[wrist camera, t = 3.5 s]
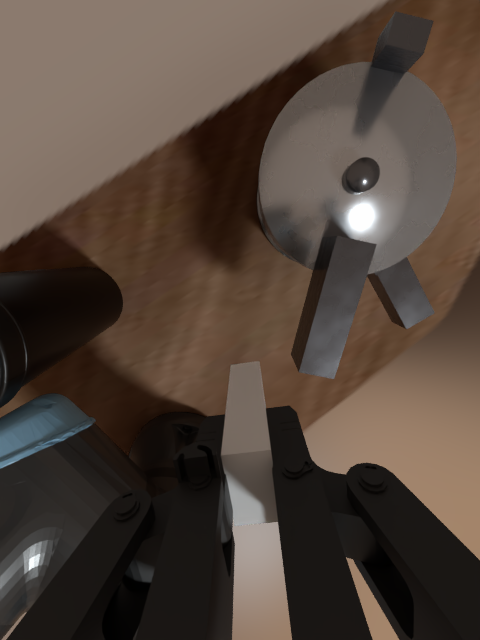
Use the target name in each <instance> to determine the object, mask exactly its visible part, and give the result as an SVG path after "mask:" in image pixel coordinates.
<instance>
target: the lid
mask: <svg viewBox="0 0 480 640" xmlns="http://www.w3.org/2000/svg"><path fill="white" fill-rule="evenodd" d="M432 24H433V21H431V20H427V19H423V18H419V17H415V16H411V15H407V14H403V13H399V12H395V13H394V15H393V16H392V18H391V19H390V21H389V22H388V24H387V25H386V27H385V28H384V30H383V32H382V33H381V35H380V36H379V38H378V41H377V45H376V49H375V52H374V56H373V60H372V62H359V63H353V64H347V65H344V66H341V67H337V68H334V69H332V70H330V71H328V72H325V73H323V74H321V75H319V76H318V77H316V78H315V79H313V80H312V81H310V82H309V83H307V84H306V85H305V86H304V87H303V88H302V89H300V90H299V91H298V92H297V93H296V94H295V95H294V96H293V97H292V98H291V99H290V101H289V102H288V103H287V104H286V105H285V107H284V108H283V109H282V111H281V112H280V114H279V115H278V117H277V118H276V120H275V122H274V124H273V126H272V128H271V130H270V132H269V135H268V137H267V140H266V142H265V146H264V149H263V153H262V157H261V162H260V169H259V180H258V190H259V200H260V205H261V209H262V214H263V216H264V219H265V222H266V225H267V227H268V229H269V231H270V232H271V234H272V236H273V238H274V239H275V240H276V242H277V243H278V245H279V246H280V247H281V248H282V249H283V250H284V251H285V252H286V253H287V254H288V255H289V256H290V257H291V258H293V259H294V260H295V261H297V262H298V263H300V264H302V265H303V266H305V267H307V268H309V269H312V270H313V273H312V277H311V281H310V285H309V288H308V292H307V296H306V300H305V303H304V307H303V311H302V315H301V318H300V322H299V326H298V329H297V333H296V337H295V341H294V344H293V348H292V352H291V355H292V358H293V360H294V362H295V364H296V367H297V369H298V371H299V372H301V373H306V374H311V375H316V376H321V377H326V378H332V379H334V378H335V374H336V371H337V368H338V365H339V362H340V359H341V356H342V352H343V349H344V346H345V343H346V340H347V337H348V333H349V330H350V327H351V324H352V321H353V318H354V315H355V311H356V308H357V305H358V302H359V299H360V296H361V293H362V289H363V286H364V283H365V280H366V277H367V275H368V274H372V273H376V272H378V271H381V270H384V269H386V268H388V267H390V266H392V265H394V264H396V263H398V262H399V261H401V260H402V259H404V258H405V257H407V256H408V255H410V254H411V253H412V252H413V251H414V250H415V249H416V248H418V247H419V246H420V245H421V244H422V242H423V241H424V240H425V239H426V238H427V237H428V236H429V235H430V233H431V232H432V230H433V229H434V228H435V226H436V225H437V223H438V221H439V220H440V218H441V216H442V214H443V213H444V210H445V208H446V206H447V203H448V201H449V198H450V195H451V192H452V188H453V184H454V179H455V173H456V160H457V156H456V143H455V137H454V132H453V128H452V125H451V122H450V119H449V116H448V115H447V113H446V111H445V109H444V107H443V105H442V103H441V102H440V100H439V99H438V97H437V96H436V95H435V93H434V92H433V91H432V90H431V89H430V88H429V87H428V86H427V85H426V84H425V83H424V82H423V81H421V80H420V79H419V78H417V77H416V76H415V75H413V74H411V73H409V72H407V71H408V70H409V68H410V67H411V66H412V65H413V64H414V63H415V62H416V61H417V60H418V59H419V58H420V57H421V56H422V55H423V53H424V50H425V47H426V44H427V40H428V37H429V34H430V31H431V27H432Z"/></svg>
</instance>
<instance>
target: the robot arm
mask: <svg viewBox="0 0 480 640" xmlns="http://www.w3.org/2000/svg"><path fill="white" fill-rule="evenodd" d="M95 421H96V420H95V419H94V418H93V417H88V416H87V415H86V414H85V413H84V412H83V411H82V410H81V409H80V408H78V407H77V406H76V405H75V404H74V403H73V402H72V401H71V400H69V399H68V398H67V397H65V396H63V395H61V394H54V393H52V394H45V395H41V396H39V397H37V398H35V399H33V400H31V401H29V402H27V403H26V404H24V405H22V406H20V407H18V408H17V409H15V410H13V411H11V412H10V413H8V414H6V415H4V416H3V417H1V418H0V640H1V639H2V638H3V636H5V635H6V633H7V632H8V631H9V630H10V628H11V627H12V626H13V625H14V624H15V622H16V621H17V620H18V619H19V618H20V617H21V616H22V615H23V614H24V613H25V612H27V613H26V615H25V616H24V617H23V619H22V620H21V621H20V622H19V624H18V625H17V626H16V628H15V629H14V630H13V632H12V633H11V634H10V636H9V637H8V638H7V639H6V640H232V619H233V585H234V550H235V543H234V537H233V532H232V523H233V519H234V525H235V526H240V525H250V524H261V523H270V522H278V525H279V533H280V541H281V550H282V558H283V567H284V574H285V583H286V591H287V600H288V608H289V617H290V625H291V633H292V640H372V637H371V634H370V631H369V627H368V624H367V621H366V618H365V615H364V612H363V609H362V606H361V603H360V600H359V597H358V593H357V590H356V587H355V584H354V581H353V578H352V575H351V572H350V569H349V566H348V562H347V560H346V557H347V558H351V559H353V560H354V562H355V564H356V566H357V568H358V569H359V571H360V573H361V574H362V576H363V578H364V580H365V581H366V583H367V584H368V586H369V588H370V590H371V592H372V593H373V595H374V597H375V598H376V600H377V602H378V604H379V605H380V607H381V609H382V610H383V612H384V614H385V615H386V617H387V619H388V621H389V622H390V624H391V626H392V628H393V629H394V631H395V633H396V634H397V636H398V638H399V640H480V560H479V559H478V558H477V557H476V556H475V555H474V554H473V553H472V552H471V551H470V550H469V549H468V548H467V547H466V546H465V545H464V544H463V543H462V542H461V541H460V540H459V539H458V538H457V537H456V536H455V535H454V534H453V533H452V532H451V531H450V530H449V529H448V528H447V527H446V526H445V525H444V524H443V523H442V522H441V521H440V520H439V519H438V518H437V517H436V516H435V515H434V514H433V513H432V512H431V511H430V510H429V509H428V508H427V507H426V506H425V505H424V504H423V503H422V502H421V501H420V500H419V499H418V498H417V497H416V496H415V495H414V494H413V493H412V492H411V491H410V490H409V489H408V488H407V487H406V486H405V485H404V484H403V483H402V482H401V481H400V480H399V479H398V478H397V477H396V476H395V475H394V474H393V473H391V472H390V471H389V470H387V469H386V468H384V467H382V466H379V465H377V464H371V463H361V464H356V465H355V466H353V467H351V468H350V469H349V471H348V472H347V475H345V474H338V473H333V472H329V471H326V470H324V469H322V468H320V467H319V466H317V465H316V464H315V463H314V462H313V461H312V459H311V457H310V454H309V451H308V448H307V445H306V442H305V438H304V435H303V432H302V429H301V425H300V422H299V419H298V416H297V413H296V411H294V410H293V409H292V408H291V407H290V406H283V407H274V408H266V405H265V398H264V391H263V384H262V377H261V370H260V363H259V361H257V362H249V363H241V364H234V365H231V368H230V377H229V386H228V395H227V404H226V413H225V415H217V416H208V417H206V418H205V417H203V416H201V415H198V414H194V413H188V412H174V413H168V414H164V415H161V416H159V417H157V418H155V419H153V420H151V421H150V422H149V423H147V424H146V425H145V426H144V427H143V428H142V429H141V431H140V432H139V434H138V436H137V437H136V439H135V441H134V443H133V445H132V447H131V450H130V453H129V457H128V456H127V455H126V454H125V453H124V452H123V451H122V450H121V449H120V448H119V447H118V446H117V445H116V444H115V443H114V442H113V441H112V440H111V439H110V438H109V437H108V436H107V435H106V434H105V433H104V432H103V431H102V430H101V429H100V428H99V427H98V426H97V425H96V424H95V423H94V422H95Z"/></svg>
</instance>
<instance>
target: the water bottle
mask: <svg viewBox="0 0 480 640" xmlns="http://www.w3.org/2000/svg"><path fill="white" fill-rule="evenodd" d="M122 307H123V299H122V294H121V291H120V289H119V287H118V285H117V284H116V282H115V281H114V280H113V279H112V278H111V277H110V276H109V275H108V274H106V273H105V272H103V271H101V270H99V269H96V268H92V267H76V268H62V269H49V270H46V269H43V270H36V271H35V270H29V271H23V272H22V271H16V272H9V273H7V272H3V273H0V408H1V407H2V406H4V405H5V404H7V403H8V402H9V401H10V400H11V399H12V398H13V397H14V396H15V395H16V393H17V392H18V391H19V390H20V388H21V387H22V386H24V385H25V384H27V383H28V382H30V381H31V380H33V379H34V378H36V377H37V376H39V375H40V374H42V373H43V372H44V371H46V370H47V369H49V368H50V367H52V366H53V365H55V364H56V363H58V362H59V361H61V360H62V359H63V358H65V357H66V356H68V355H69V354H71V353H72V352H74V351H75V350H77V349H78V348H80V347H81V346H82V345H84V344H85V343H87V342H88V341H90V340H91V339H93V338H94V337H96V336H97V335H99V334H100V333H101V332H103V331H104V330H106V329H107V328H109V327H110V326H112V325H113V324H114V323H115V322H116V321H117V320H118V318H119V317H120V314H121V312H122Z"/></svg>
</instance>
